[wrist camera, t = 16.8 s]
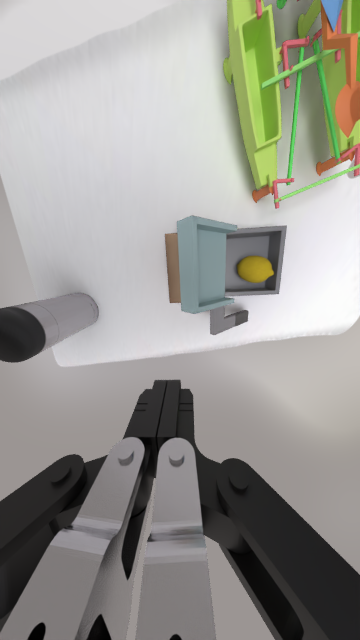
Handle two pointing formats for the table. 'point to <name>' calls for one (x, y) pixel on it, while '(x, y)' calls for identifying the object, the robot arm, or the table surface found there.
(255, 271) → the lemon
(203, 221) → the tray
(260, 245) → the bin
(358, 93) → the catamaran
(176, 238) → the pedestal
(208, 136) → the table surface
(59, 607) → the robot arm
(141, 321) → the table surface
